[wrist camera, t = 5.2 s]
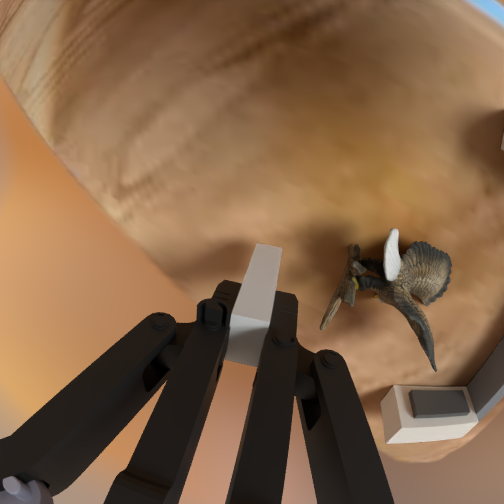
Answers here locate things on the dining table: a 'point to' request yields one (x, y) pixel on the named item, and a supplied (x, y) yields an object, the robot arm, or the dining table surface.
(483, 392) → the rail
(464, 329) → the dining table surface
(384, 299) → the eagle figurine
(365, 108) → the dining table surface
